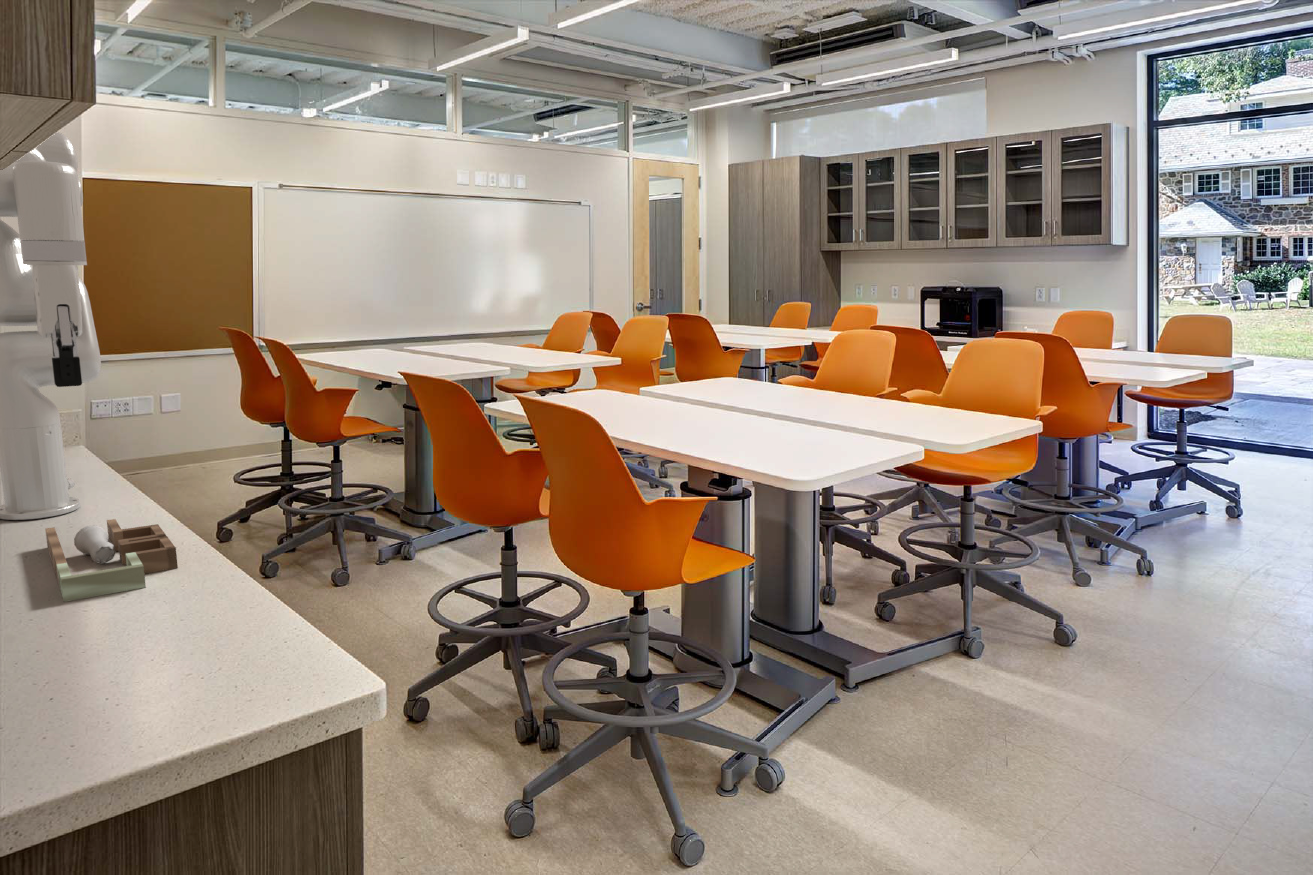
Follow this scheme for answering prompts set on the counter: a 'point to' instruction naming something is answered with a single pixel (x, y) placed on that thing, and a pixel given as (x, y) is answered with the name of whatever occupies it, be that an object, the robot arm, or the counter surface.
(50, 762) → the counter surface
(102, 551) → the rook chess piece
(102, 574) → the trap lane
